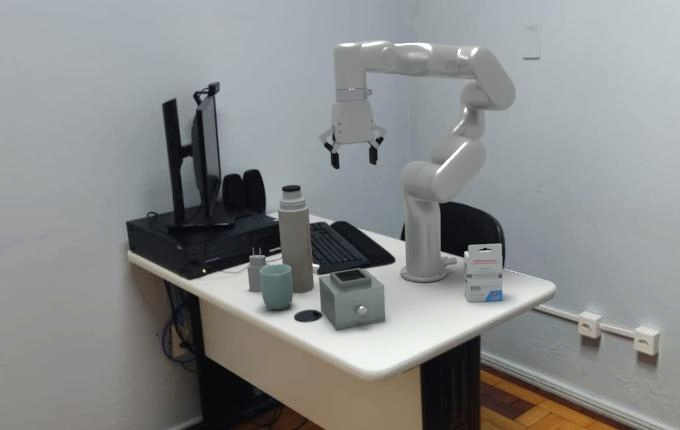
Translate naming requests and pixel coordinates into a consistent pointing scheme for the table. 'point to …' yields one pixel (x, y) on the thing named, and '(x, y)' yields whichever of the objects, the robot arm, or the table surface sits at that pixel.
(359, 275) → the box
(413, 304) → the table surface
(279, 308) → the cup
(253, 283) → the power adapter
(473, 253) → the ink box
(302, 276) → the thermos bottle
